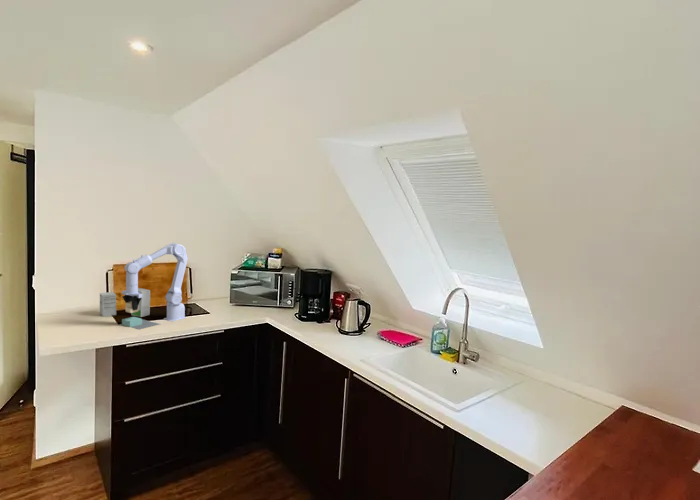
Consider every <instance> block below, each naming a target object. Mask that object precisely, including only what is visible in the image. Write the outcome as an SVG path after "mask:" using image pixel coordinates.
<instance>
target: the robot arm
mask: <svg viewBox="0 0 700 500" xmlns="http://www.w3.org/2000/svg"><path fill="white" fill-rule="evenodd" d="M165 255H172V256H173V257H174V258H175V259H176V260H177V261H176V262H177V263H176V265H175V270H174V273H173V278H172V282H171V286H170V288H168V291H167V293H165V297H164V298H165V300H166V317H164V318H163V320H166V321H168V322H169V321H170V322H175V321H179V320H183V319H186V318H187V317H185V316H186V314H185V313H186V312H185V311H186V307H185V304H184V303H182V301H183V297H182V294H183V292H182V285H183V281H184V277H185V272H186V269H187V265H188V260H189V258H188V255H187V249H186V247H185V246H184V245H183V244H179V243H176V242H171V243H170V244H166V245H165V246H163V247H161V248H159V249H158V250H156V251H154V252H152V253H151V254H149V255H148V254H142V255H141V256H140V257H138V258H136V259H133V260H132V261H128V262H127V263H126V264H125V266H124V268H123V269H124V271H125V272H126V274H125V290H122V291H121V294H122V299H123V300H124V303H126V302H132V308H133V310H137V308H138V305H139V302H140V300H141V299H142V294H141V293H139V292H138V289H139V272H140V270H142V269H144V268H146V267H148V266H149V265H151V264H152V263H153V261H154V260H157V259H158V258H161V257H163V256H165Z"/></svg>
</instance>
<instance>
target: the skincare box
mask: <svg viewBox="0 0 700 500" xmlns="http://www.w3.org/2000/svg"><path fill="white" fill-rule="evenodd" d="M138 292H139V293H141V294H142V299H141V300H140V302H139V305H138V312H133V313H130V314H131V316H132V317H137V318H142V317H146V316H151V315H150V314H151V313H150V312H151V308H150V307H151V290H150V289H146V288H142V287H138Z"/></svg>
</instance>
